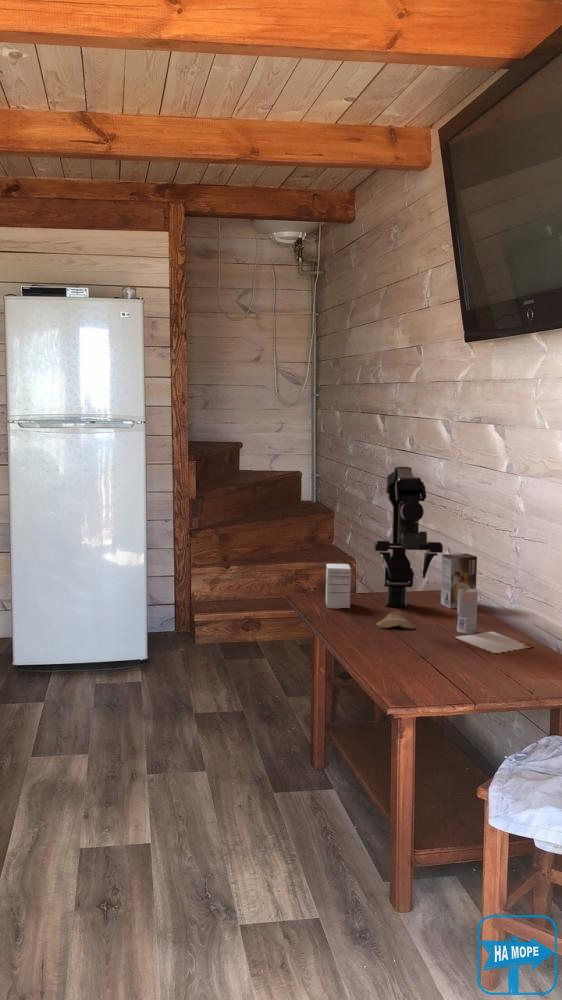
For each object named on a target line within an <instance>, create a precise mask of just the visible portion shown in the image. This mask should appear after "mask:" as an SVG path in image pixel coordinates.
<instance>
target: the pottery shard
mask: <svg viewBox="0 0 562 1000" xmlns="http://www.w3.org/2000/svg"><path fill="white" fill-rule="evenodd" d="M376 626H377V627H378V628H379V629H390V628H393V627H394V628H395V627H400V628H402V629H405V630H413V629H415V628H416V626H414V624H413V622H410V621H408V616H407V614H406V613H404V612H401V611H393V612H390V613H389V614H387V615H386V616H385V617H383V619H381V620H380V621H378V622H376Z"/></svg>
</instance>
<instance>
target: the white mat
mask: <svg viewBox="0 0 562 1000" xmlns="http://www.w3.org/2000/svg"><path fill="white" fill-rule="evenodd" d="M455 639H458V640H459V641H463V642H465V643H467V644H470V645H472V646H474V647H477V648H480V649H482V650H484V649H485V650H484V651H487V652H489V651H490V653H492V654H494V653H498V654H502V653H501V652H505V653H508V652H507V651H511V652H514V651H513V650H517V651H519V650H518V649H523V647H525V646H523V645H525V644H526V643H525V644H523V643H524V642H522V643H519V642H520V641H519V640H516V639H514V638H511V637H508V636H506V635H502V634H500V633H498V632H494V631H487V632H480V633H474V634H469V635H468V634H464V635H459V636H455ZM517 641H518V642H517ZM522 644H523V645H522ZM525 648H526V647H525Z"/></svg>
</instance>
